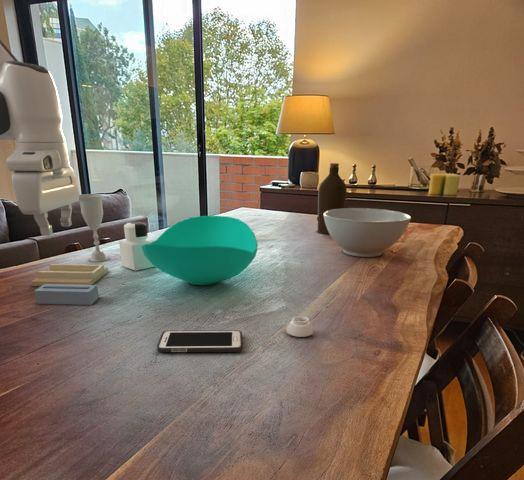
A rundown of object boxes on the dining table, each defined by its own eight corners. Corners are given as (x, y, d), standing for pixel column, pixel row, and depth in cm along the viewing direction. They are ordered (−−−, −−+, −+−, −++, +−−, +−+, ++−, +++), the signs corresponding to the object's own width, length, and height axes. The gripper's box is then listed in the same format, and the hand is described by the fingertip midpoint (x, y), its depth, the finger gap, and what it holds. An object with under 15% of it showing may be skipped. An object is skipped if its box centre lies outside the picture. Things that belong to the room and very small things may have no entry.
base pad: (32, 286, 112) (30, 275, 110) (56, 270, 124) (55, 260, 123) (90, 287, 111) (88, 276, 110) (109, 271, 124) (107, 261, 123)
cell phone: (242, 352, 79) (242, 347, 78) (156, 353, 78) (155, 348, 78) (241, 334, 86) (241, 330, 85) (163, 335, 85) (162, 330, 85)
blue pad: (36, 303, 100) (34, 290, 99) (47, 296, 105) (44, 283, 103) (91, 304, 100) (89, 291, 99) (99, 297, 104) (97, 284, 103)
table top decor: (171, 260, 136) (168, 214, 131) (263, 263, 134) (264, 217, 128) (122, 304, 100) (115, 244, 95) (247, 310, 98) (247, 248, 93)
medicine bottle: (143, 261, 134) (139, 219, 129) (157, 266, 129) (153, 223, 124) (121, 266, 129) (116, 222, 124) (134, 271, 125) (130, 226, 120)
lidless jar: (317, 332, 87) (296, 326, 90) (318, 318, 86) (297, 312, 89) (302, 340, 84) (281, 333, 87) (303, 326, 83) (281, 319, 86)
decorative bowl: (376, 241, 164) (380, 206, 158) (422, 259, 141) (429, 219, 136) (308, 246, 156) (310, 209, 151) (344, 265, 133) (348, 223, 128)
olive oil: (348, 231, 180) (354, 163, 169) (334, 235, 172) (339, 164, 162) (324, 228, 186) (329, 162, 175) (310, 232, 178) (314, 163, 168)
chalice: (106, 262, 132) (97, 197, 125) (83, 262, 133) (72, 197, 125) (114, 256, 139) (106, 194, 131) (91, 256, 139) (82, 194, 131)
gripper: (51, 156, 99) (63, 221, 105) (0, 161, 80) (18, 240, 86) (80, 156, 99) (90, 222, 104) (36, 161, 80) (51, 240, 86)
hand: (57, 230), depth 95 cm, fingers open, 8 cm apart
